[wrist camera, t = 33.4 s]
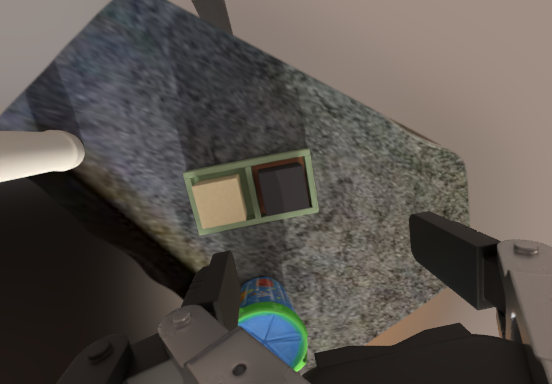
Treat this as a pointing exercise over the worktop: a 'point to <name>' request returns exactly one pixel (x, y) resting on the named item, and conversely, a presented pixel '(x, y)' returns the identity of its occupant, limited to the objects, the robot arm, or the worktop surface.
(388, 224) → the worktop surface
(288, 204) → the dark gray block
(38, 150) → the bottle
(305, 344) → the snack cup
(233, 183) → the foam pad
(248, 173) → the frame
